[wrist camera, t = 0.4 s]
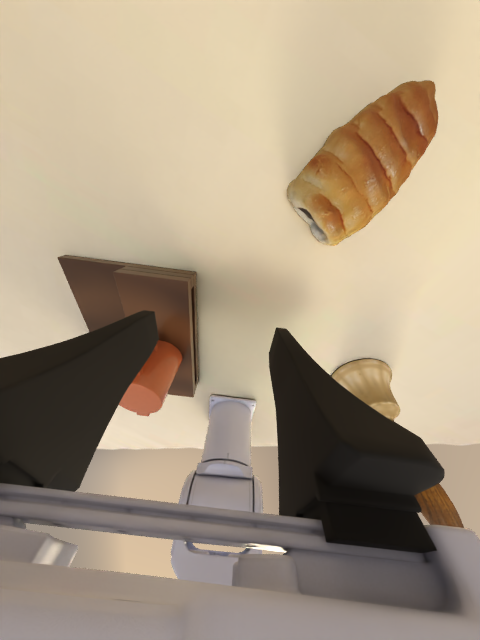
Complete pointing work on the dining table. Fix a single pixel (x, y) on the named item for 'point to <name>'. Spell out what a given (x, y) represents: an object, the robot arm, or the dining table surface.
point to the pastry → (365, 162)
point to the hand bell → (374, 389)
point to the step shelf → (140, 304)
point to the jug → (153, 380)
